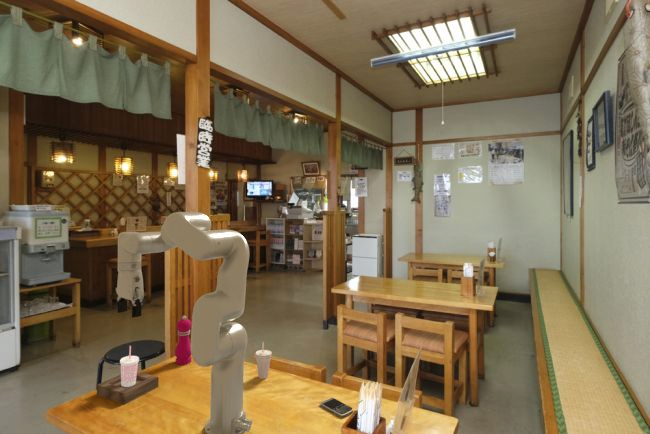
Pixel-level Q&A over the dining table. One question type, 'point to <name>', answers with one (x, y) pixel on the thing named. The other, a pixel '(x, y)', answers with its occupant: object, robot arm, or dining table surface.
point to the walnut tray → (127, 388)
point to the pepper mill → (183, 342)
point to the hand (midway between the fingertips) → (129, 314)
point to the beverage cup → (129, 369)
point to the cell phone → (336, 407)
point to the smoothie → (263, 362)
